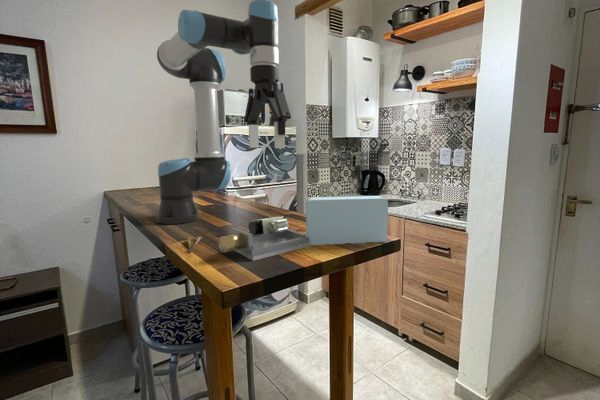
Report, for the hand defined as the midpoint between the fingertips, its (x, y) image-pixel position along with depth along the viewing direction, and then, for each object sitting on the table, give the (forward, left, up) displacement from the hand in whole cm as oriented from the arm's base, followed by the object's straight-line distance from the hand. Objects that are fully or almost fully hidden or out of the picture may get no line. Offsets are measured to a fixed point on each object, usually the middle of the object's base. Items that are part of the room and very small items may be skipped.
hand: (266, 148), depth 90 cm
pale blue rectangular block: (+13, +18, -27) cm, 35 cm away
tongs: (-11, -18, -28) cm, 35 cm away
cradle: (+4, -2, -27) cm, 27 cm away
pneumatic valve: (+2, +3, -23) cm, 23 cm away
